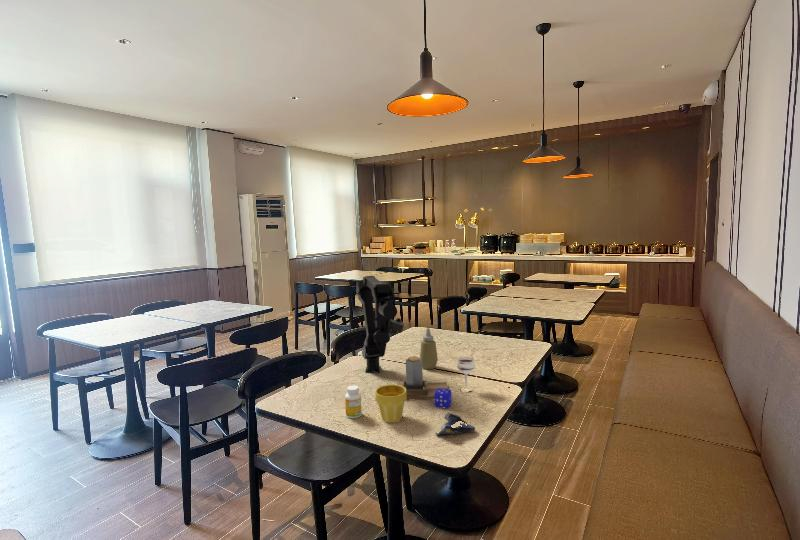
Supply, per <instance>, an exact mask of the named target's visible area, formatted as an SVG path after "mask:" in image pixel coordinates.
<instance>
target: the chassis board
mask: <svg viewBox="0 0 800 540" xmlns="http://www.w3.org/2000/svg"><path fill="white" fill-rule="evenodd" d="M396 385H400V386H403V387H405V388H406V380H402V381H401V382H397V383H396ZM438 388H440V389H449V387H448V383H447V382H446V381H443V382H442V381H441V382H439V381H438V382H436V381H435V382H427V380H423V389H417V390H406V392H407V399H406V401H410V400H409V399H415V400H435V397H434V394H435V392H436V391H437V389H438Z"/></svg>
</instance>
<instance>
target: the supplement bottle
mask: <svg viewBox="0 0 800 540" xmlns="http://www.w3.org/2000/svg"><path fill="white" fill-rule="evenodd" d="M344 400H345V401H344V403H345V405H344V406H345V416H346V417H347V418H349V419H357V418H359V417H360V418H361V416H362V414H363V413H362V409H363V407H362V394H361V393H360V389H359V386H358V385H349V386H347V387H346V394H345V395H344Z"/></svg>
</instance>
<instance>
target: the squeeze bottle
mask: <svg viewBox="0 0 800 540" xmlns="http://www.w3.org/2000/svg"><path fill="white" fill-rule="evenodd" d="M437 351H438V350H437V344H436V341H435V340H434V335H432V334H431V329H430V328H429V327H428V328H426V330H425V334H424V335H423V336H422V341H421V343H420V353H419V354H420V355H419V358H420V359H421V360H422V369H425V370H433V369H435V368H436V367H437V364H438V360H439V359H438V352H437Z"/></svg>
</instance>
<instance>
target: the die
mask: <svg viewBox="0 0 800 540" xmlns="http://www.w3.org/2000/svg"><path fill="white" fill-rule="evenodd" d="M434 397H435V399H434V407H435V406H436V407H435V408H441V407H445V408H444V409H449V408H450V407H451V405H450V404H452V403H451V402H453V401H452V389H449V388H448V389H440V388H438V389H437V391H436V392H435V394H434ZM449 406H450V407H449Z"/></svg>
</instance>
